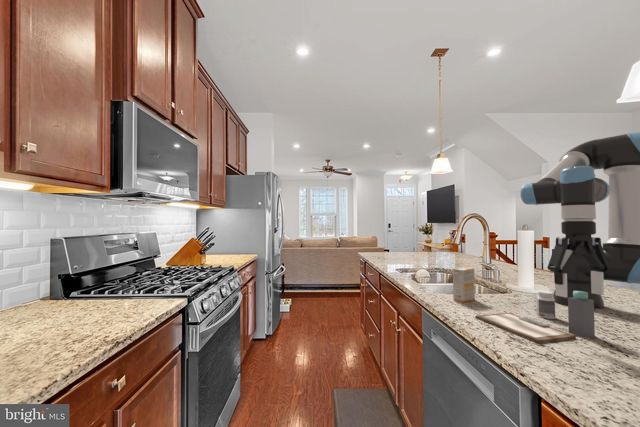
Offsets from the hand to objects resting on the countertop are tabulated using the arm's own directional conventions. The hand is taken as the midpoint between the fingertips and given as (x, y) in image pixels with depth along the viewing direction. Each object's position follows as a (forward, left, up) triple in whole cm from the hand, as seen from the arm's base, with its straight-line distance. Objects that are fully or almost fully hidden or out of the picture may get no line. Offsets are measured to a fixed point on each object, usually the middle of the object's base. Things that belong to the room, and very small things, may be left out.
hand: (579, 295), depth 85 cm
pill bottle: (-6, -15, -11) cm, 20 cm away
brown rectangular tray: (+11, -9, -11) cm, 18 cm away
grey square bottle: (0, 0, -11) cm, 11 cm away
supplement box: (+5, -41, -11) cm, 43 cm away
